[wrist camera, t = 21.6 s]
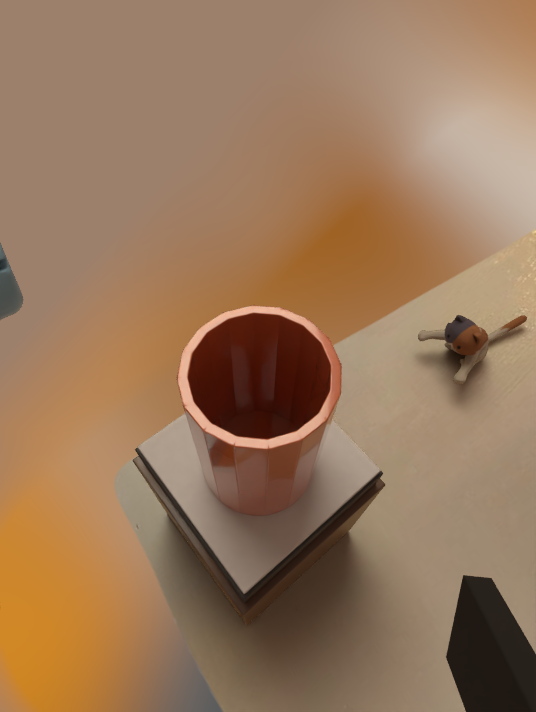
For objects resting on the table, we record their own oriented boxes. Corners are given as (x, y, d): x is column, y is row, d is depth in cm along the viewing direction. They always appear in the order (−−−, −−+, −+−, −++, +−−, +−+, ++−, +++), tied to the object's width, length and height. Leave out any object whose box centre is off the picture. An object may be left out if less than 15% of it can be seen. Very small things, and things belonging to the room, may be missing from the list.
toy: (408, 348, 60) (429, 307, 52) (499, 302, 64) (530, 258, 56) (449, 398, 56) (477, 361, 49) (542, 346, 60) (581, 305, 53)
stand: (166, 512, 49) (132, 459, 35) (266, 435, 53) (269, 362, 40) (247, 626, 44) (243, 616, 30) (349, 530, 48) (386, 484, 35)
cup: (180, 451, 32) (146, 360, 22) (265, 389, 35) (270, 282, 25) (249, 541, 30) (246, 484, 19) (337, 466, 32) (375, 381, 22)
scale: (139, 457, 35) (130, 442, 33) (266, 367, 39) (267, 347, 37) (244, 603, 31) (243, 599, 28) (376, 483, 35) (385, 470, 32)
